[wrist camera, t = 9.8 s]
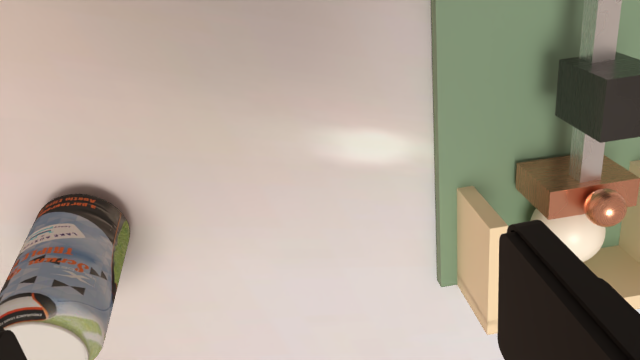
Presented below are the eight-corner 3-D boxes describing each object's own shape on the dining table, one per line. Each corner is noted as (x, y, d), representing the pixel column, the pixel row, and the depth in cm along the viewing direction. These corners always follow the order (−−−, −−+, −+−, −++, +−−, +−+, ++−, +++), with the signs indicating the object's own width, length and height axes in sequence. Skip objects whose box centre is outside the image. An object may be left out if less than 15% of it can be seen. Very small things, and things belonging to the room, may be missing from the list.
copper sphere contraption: (524, -15, 34) (593, 0, 28) (617, -27, 35) (707, -15, 28) (515, 190, 40) (569, 244, 34) (594, 178, 41) (663, 228, 34)
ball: (546, 284, 39) (515, 243, 43) (615, 272, 39) (577, 233, 43) (553, 223, 36) (519, 187, 41) (626, 212, 37) (585, 177, 41)
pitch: (427, -181, 31) (473, -208, 25) (710, -212, 32) (823, -246, 26) (437, 279, 45) (468, 338, 38) (638, 246, 46) (701, 297, 40)
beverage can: (112, 174, 38) (59, 274, 27) (152, 262, 41) (118, 383, 30) (22, 198, 38) (-67, 308, 27) (69, 284, 41) (5, 414, 30)
